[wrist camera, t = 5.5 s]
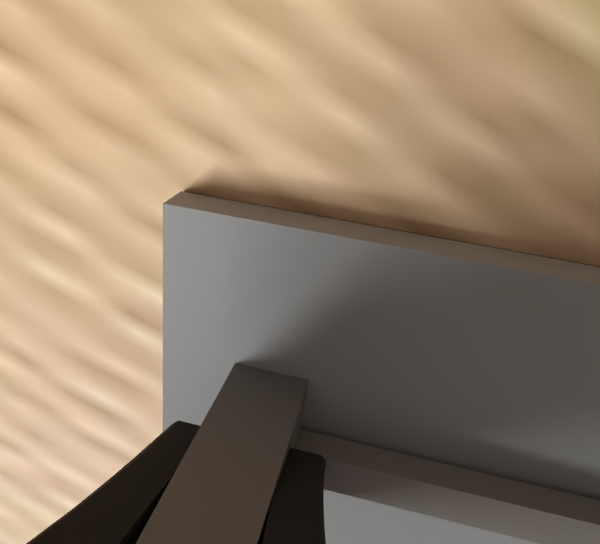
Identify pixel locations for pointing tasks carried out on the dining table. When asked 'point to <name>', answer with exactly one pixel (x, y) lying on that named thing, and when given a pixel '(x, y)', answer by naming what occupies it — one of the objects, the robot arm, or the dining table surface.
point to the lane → (389, 348)
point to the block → (335, 477)
